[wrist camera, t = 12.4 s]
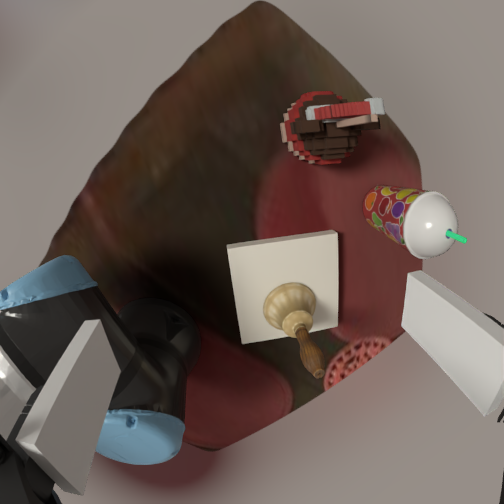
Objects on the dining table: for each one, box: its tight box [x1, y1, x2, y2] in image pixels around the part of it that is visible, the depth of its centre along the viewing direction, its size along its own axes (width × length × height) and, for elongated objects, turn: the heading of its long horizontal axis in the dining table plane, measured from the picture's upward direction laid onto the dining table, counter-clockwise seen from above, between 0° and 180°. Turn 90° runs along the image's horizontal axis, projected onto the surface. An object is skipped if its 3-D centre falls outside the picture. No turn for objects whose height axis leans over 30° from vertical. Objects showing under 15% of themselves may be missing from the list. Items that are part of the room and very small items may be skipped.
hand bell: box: [263, 282, 325, 378], centre depth 38 cm, size 8×8×16 cm
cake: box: [280, 91, 385, 165], centre depth 31 cm, size 11×9×18 cm
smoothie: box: [363, 185, 467, 259], centre depth 35 cm, size 8×8×20 cm
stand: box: [227, 230, 338, 344], centre depth 46 cm, size 16×16×2 cm
